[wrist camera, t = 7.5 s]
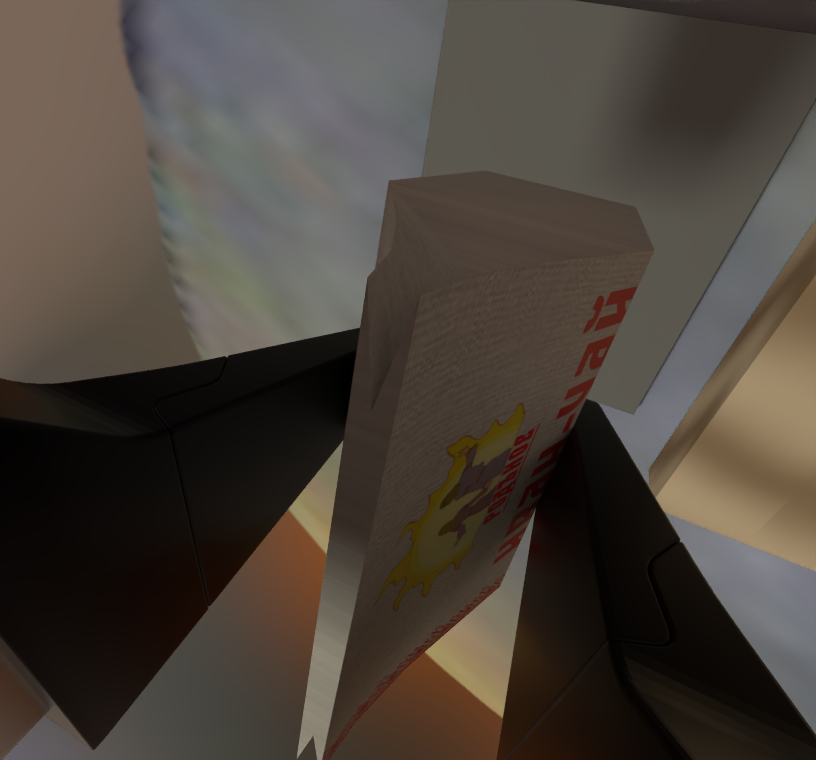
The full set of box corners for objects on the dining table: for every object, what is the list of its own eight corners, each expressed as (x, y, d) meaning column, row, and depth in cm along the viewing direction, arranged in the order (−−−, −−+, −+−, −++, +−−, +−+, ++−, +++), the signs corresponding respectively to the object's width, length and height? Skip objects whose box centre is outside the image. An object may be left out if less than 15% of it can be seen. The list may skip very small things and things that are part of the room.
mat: (633, 409, 21) (633, 414, 21) (401, 329, 24) (398, 332, 24) (845, 40, 13) (850, 39, 13) (454, -15, 16) (451, -17, 16)
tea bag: (429, 393, 15) (195, 693, 7) (485, 170, 11) (146, 204, 3) (540, 435, 14) (430, 844, 6) (636, 207, 11) (714, 392, 2)
